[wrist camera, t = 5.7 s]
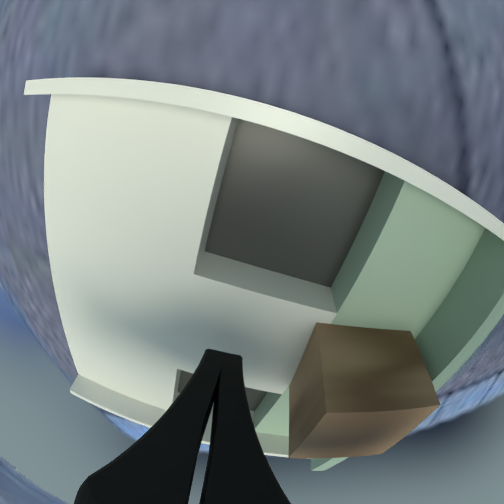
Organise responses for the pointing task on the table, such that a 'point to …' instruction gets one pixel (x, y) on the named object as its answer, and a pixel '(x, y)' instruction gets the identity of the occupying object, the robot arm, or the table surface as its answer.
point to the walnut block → (357, 392)
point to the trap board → (245, 245)
